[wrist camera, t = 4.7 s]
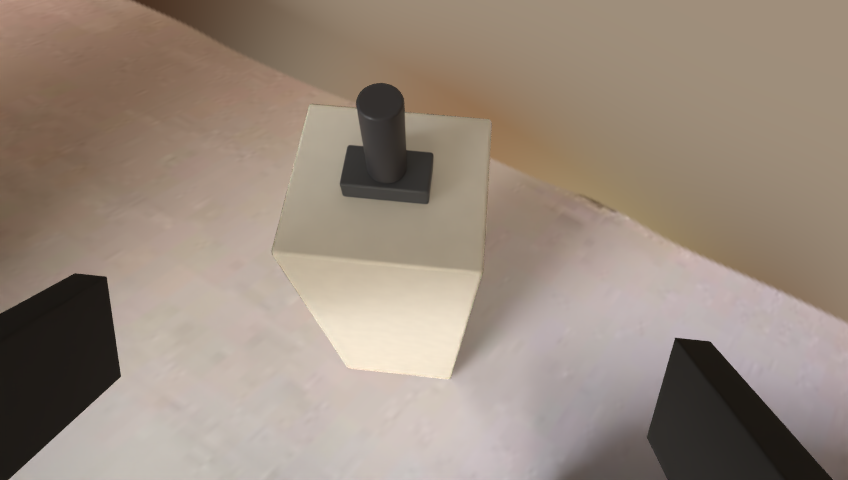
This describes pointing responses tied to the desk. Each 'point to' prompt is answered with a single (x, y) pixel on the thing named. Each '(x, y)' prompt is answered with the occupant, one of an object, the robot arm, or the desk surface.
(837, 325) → the desk surface
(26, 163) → the desk surface
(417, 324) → the white tall block
